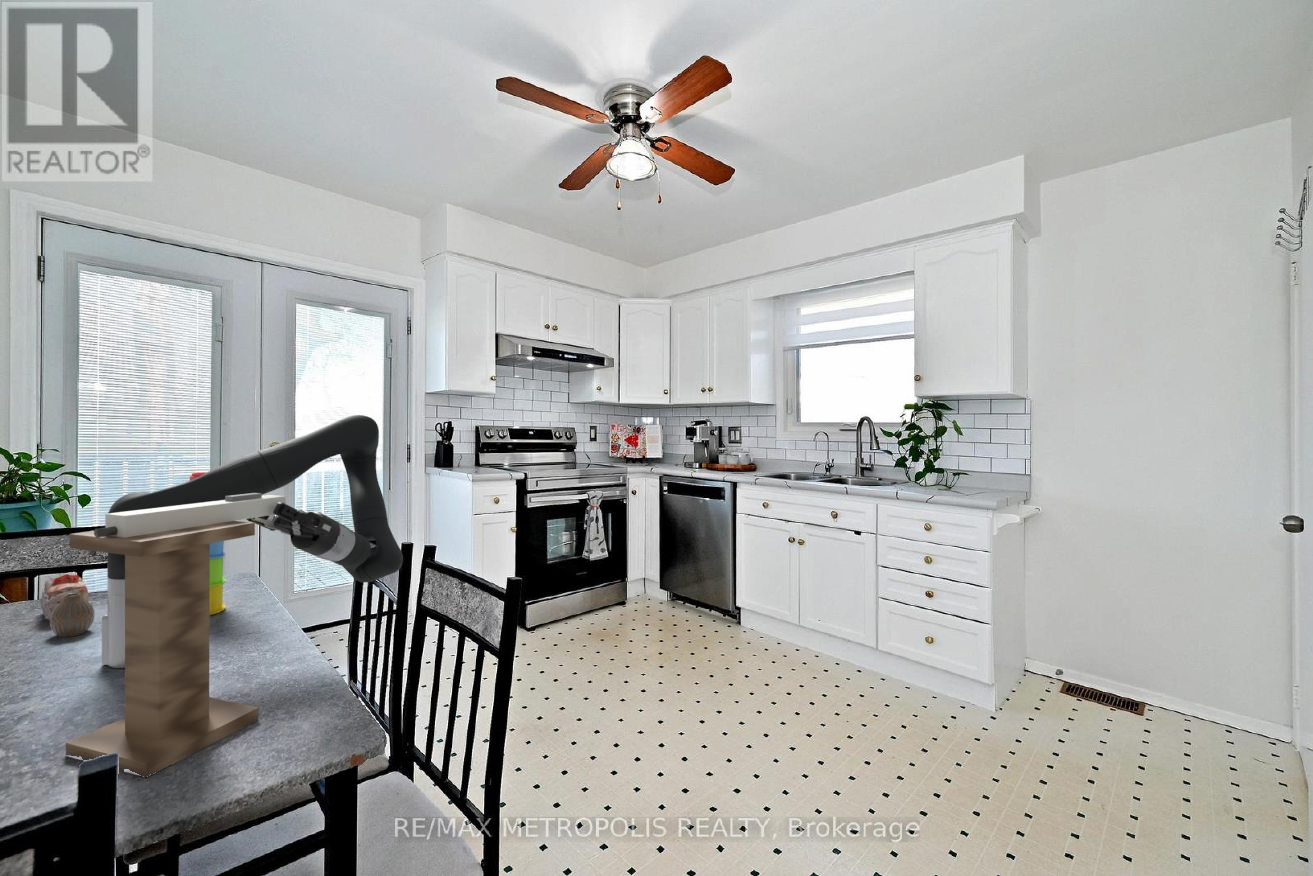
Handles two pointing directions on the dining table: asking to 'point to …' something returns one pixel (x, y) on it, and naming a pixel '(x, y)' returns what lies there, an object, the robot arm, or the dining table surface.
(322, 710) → the dining table surface
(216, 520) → the white long block
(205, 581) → the stand
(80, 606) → the vase
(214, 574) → the stacking cups
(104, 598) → the dining table surface
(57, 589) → the food item
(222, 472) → the robot arm
